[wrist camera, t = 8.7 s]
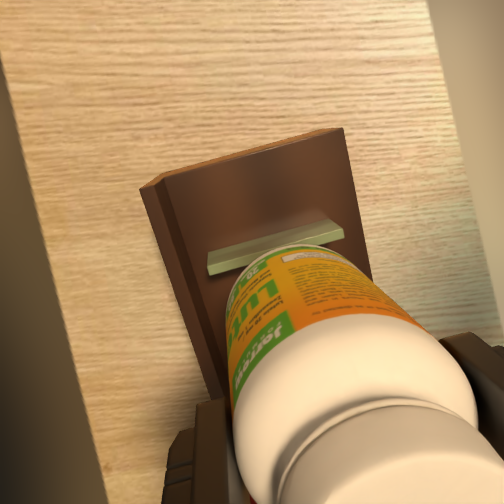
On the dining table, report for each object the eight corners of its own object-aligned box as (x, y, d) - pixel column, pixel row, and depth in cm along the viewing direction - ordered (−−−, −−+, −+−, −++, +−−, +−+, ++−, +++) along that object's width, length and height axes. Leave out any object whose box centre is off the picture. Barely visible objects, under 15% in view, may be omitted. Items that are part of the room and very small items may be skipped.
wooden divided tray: (322, 128, 30) (366, 125, 21) (372, 366, 35) (422, 440, 27) (160, 173, 30) (138, 188, 21) (236, 404, 35) (242, 491, 27)
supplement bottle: (241, 227, 15) (292, 383, 5) (384, 256, 15) (646, 436, 6) (211, 363, 16) (210, 681, 7) (344, 383, 17) (512, 694, 7)
